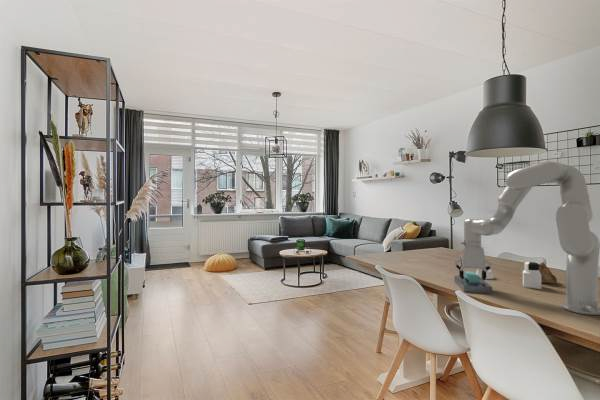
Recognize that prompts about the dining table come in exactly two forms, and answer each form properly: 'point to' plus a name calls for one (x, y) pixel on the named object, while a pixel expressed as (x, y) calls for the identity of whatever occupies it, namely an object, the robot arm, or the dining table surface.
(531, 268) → the medicine bottle
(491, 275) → the inkwell
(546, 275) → the decorative rock
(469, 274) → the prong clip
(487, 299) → the dining table surface
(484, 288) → the slot rail
